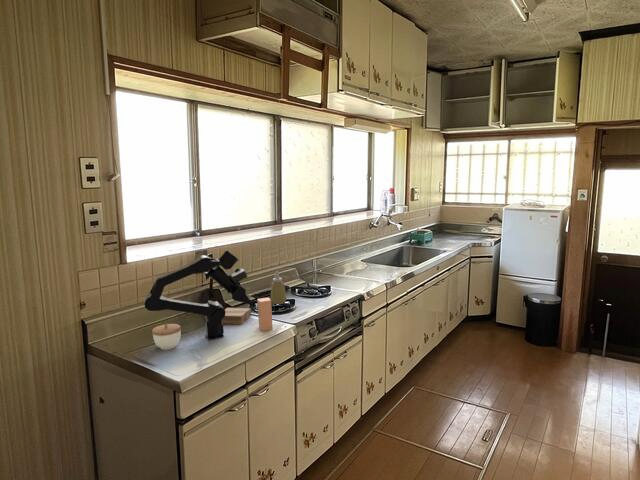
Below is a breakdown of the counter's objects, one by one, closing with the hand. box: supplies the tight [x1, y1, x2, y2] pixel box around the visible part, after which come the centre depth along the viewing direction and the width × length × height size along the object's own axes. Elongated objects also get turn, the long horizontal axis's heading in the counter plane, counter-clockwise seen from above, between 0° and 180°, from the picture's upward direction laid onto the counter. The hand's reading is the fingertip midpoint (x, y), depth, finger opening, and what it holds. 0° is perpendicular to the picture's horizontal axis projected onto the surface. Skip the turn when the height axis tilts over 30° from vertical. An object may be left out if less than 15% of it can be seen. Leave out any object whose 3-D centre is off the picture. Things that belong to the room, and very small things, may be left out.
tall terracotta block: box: [256, 297, 274, 331], centre depth 191 cm, size 5×5×13 cm
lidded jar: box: [151, 323, 182, 351], centre depth 174 cm, size 11×11×9 cm
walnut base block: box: [222, 307, 252, 325], centre depth 205 cm, size 12×12×4 cm
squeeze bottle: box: [270, 271, 287, 305], centre depth 223 cm, size 8×8×18 cm
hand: (249, 300), depth 187 cm, fingers open, 9 cm apart
